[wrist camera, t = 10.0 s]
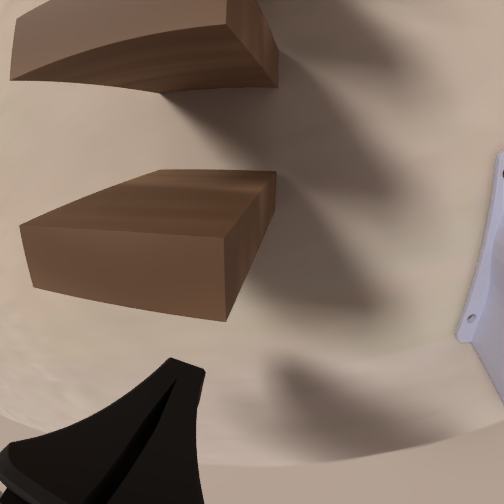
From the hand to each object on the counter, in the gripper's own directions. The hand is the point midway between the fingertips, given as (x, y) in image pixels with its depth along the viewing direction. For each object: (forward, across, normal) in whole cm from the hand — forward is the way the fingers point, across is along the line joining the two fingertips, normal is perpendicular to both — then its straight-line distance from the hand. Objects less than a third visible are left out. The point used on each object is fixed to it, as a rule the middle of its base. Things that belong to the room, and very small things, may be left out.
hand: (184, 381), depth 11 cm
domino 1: (+5, +2, -11) cm, 12 cm away
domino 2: (+5, +1, -6) cm, 8 cm away
